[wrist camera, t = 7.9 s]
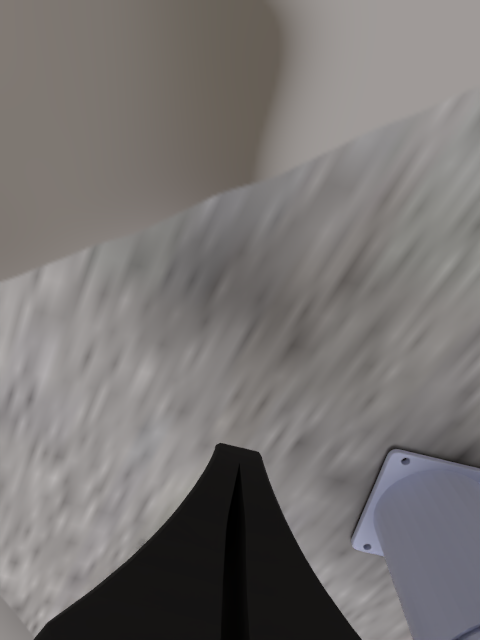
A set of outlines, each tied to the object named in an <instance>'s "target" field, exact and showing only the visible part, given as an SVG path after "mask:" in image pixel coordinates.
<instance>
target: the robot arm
mask: <svg viewBox="0 0 480 640" xmlns="http://www.w3.org/2000/svg"><path fill="white" fill-rule="evenodd" d="M404 458H407V459H406V460H405V461H401V460H402V459H404ZM351 543H352V546H353V548H354V549H356V550H359V551H363V552H368V553H372V554H376V555H380V556H384V557H385V560H386V563H387V566H388V569H389V571H390V574H391V577H392V580H393V583H394V586H395V589H396V592H397V594H398V597H399V600H400V603H401V606H402V609H403V612H404V615H405V617H406V620H407V623H408V626H409V629H410V632H411V635H412V637H413V640H480V468H476V467H471V466H467V465H463V464H459V463H455V462H450V461H446V460H442V459H438V458H434V457H429V456H425V455H421V454H417V453H413V452H408V451H404V450H400V449H393V450H391V451H390V452H389V453H388V455H387V457H386V459H385V462H384V464H383V466H382V469H381V471H380V473H379V476H378V478H377V480H376V483H375V485H374V487H373V490H372V492H371V494H370V497H369V499H368V501H367V504H366V506H365V508H364V511H363V513H362V515H361V518H360V520H359V522H358V525H357V527H356V529H355V532H354V534H353V536H352V539H351ZM365 544H367V545H365ZM34 640H362V639H361V638H360V637H359V635H358V634H357V633H356V632H355V630H354V629H353V628H352V627H351V625H350V624H349V623H348V621H347V620H346V618H345V617H344V616H343V614H342V613H341V611H340V610H339V609H338V607H337V606H336V604H335V603H334V602H333V600H332V599H331V597H330V596H329V595H328V593H327V592H326V590H325V589H324V587H323V586H322V584H321V583H320V581H319V579H318V578H317V576H316V575H315V573H314V572H313V570H312V568H311V566H310V565H309V563H308V561H307V560H306V558H305V556H304V555H303V553H302V551H301V549H300V547H299V545H298V544H297V542H296V540H295V538H294V536H293V534H292V532H291V530H290V528H289V526H288V524H287V522H286V520H285V517H284V515H283V513H282V511H281V508H280V506H279V504H278V501H277V499H276V497H275V494H274V492H273V489H272V487H271V484H270V481H269V479H268V476H267V473H266V470H265V467H264V464H263V460H262V457H261V455H260V453H259V452H257V451H252V450H248V449H244V448H240V447H236V446H231V445H227V444H223V443H219V444H217V445H216V446H215V450H214V453H213V455H212V457H211V460H210V461H209V463H208V465H207V467H206V469H205V470H204V472H203V474H202V475H201V477H200V478H199V480H198V481H197V483H196V484H195V486H194V487H193V489H192V490H191V491H190V493H189V494H188V495H187V497H186V498H185V499H184V501H183V502H182V503H181V505H180V506H179V507H178V508H177V510H176V511H175V512H174V513H173V514H172V516H171V517H170V518H169V519H168V520H167V521H166V522H165V524H164V525H163V526H162V527H161V528H160V529H159V530H158V531H157V532H156V533H155V534H154V535H153V536H152V537H151V538H150V539H149V540H148V541H147V542H146V543H145V544H144V545H143V546H142V547H141V548H140V549H139V550H138V551H137V552H136V553H135V554H134V555H133V556H132V557H131V558H130V559H128V560H127V561H126V562H125V563H124V564H123V565H121V566H120V567H119V568H118V569H117V570H116V571H114V572H113V573H112V574H111V575H110V576H108V577H107V578H106V579H105V580H104V581H102V582H101V583H100V584H99V585H98V586H96V587H95V588H94V589H93V590H91V591H90V592H89V593H87V594H86V595H85V596H83V597H82V598H81V599H79V600H78V601H76V602H75V603H74V604H72V605H71V606H70V607H68V608H67V609H65V610H64V611H63V612H61V613H60V614H58V615H57V616H56V617H54V618H53V619H52V620H50V621H49V622H48V623H47V624H46V625H45V626H44V627H43V629H42V630H41V631H40V632H39V634H38V635H37V636H36V637H35V639H34Z"/></svg>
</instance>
